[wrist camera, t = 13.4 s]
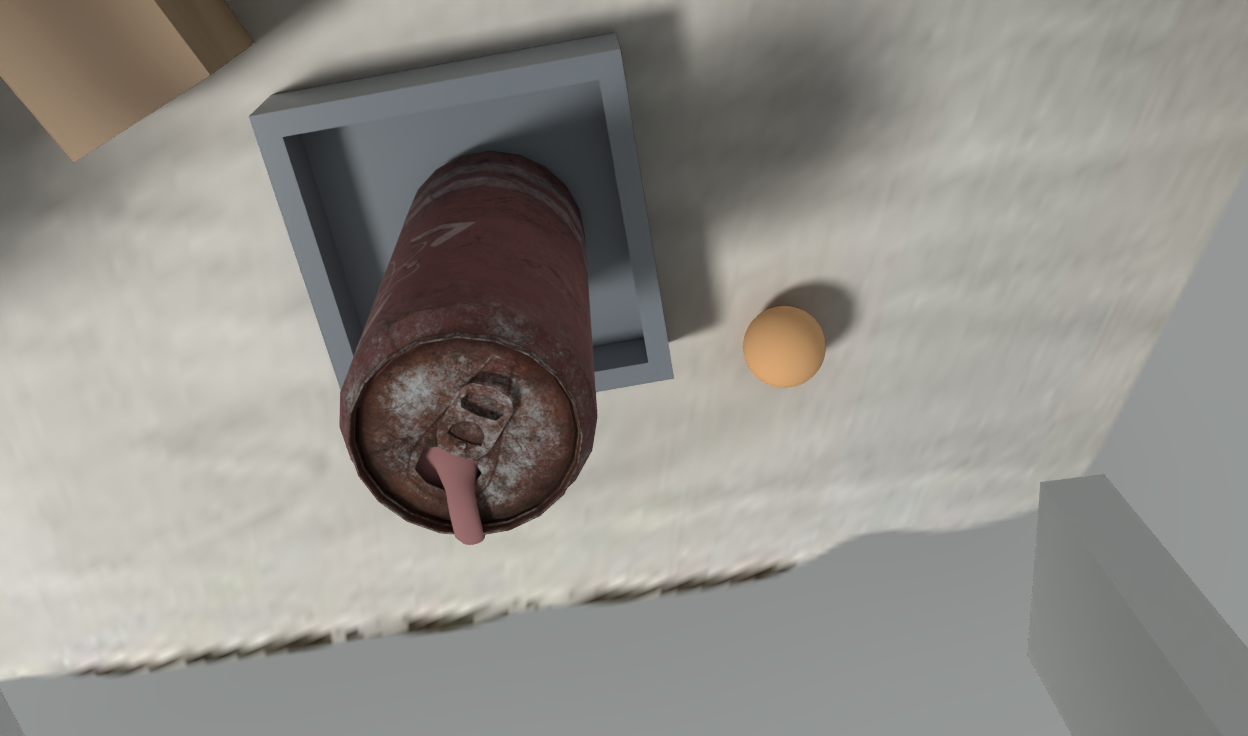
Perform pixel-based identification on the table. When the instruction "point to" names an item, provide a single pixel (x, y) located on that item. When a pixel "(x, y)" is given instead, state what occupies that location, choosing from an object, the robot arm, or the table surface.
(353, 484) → the table surface
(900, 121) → the table surface
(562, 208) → the can
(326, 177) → the tray
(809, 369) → the rubber ball
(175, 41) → the walnut block
